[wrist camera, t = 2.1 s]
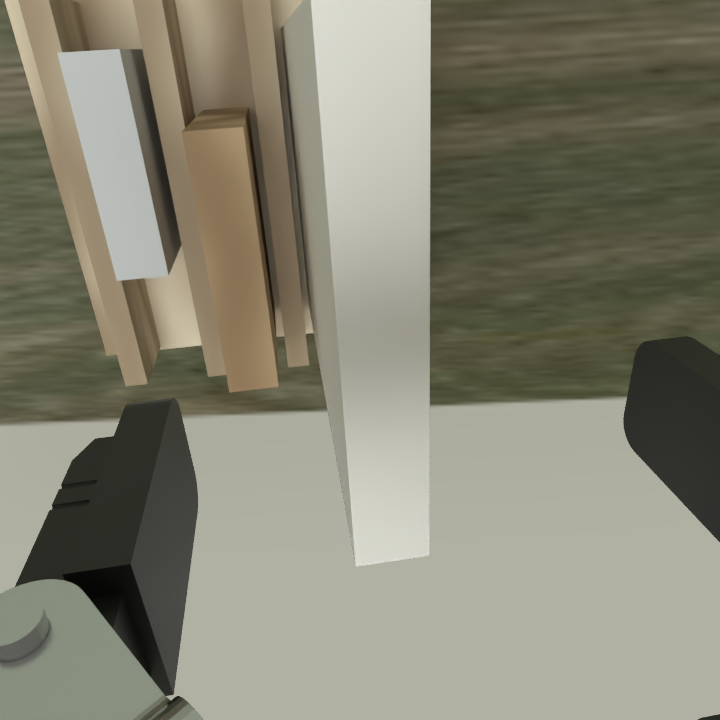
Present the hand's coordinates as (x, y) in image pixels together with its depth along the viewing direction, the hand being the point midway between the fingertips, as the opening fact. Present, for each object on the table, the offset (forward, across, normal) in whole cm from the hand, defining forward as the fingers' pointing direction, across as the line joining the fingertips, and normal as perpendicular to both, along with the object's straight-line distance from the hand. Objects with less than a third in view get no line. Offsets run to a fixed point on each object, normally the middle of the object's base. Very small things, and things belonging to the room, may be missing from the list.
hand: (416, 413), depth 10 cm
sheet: (+21, 0, 0) cm, 21 cm away
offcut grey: (+21, +8, -2) cm, 22 cm away
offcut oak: (+21, +4, +2) cm, 21 cm away
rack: (+22, +4, 0) cm, 22 cm away
